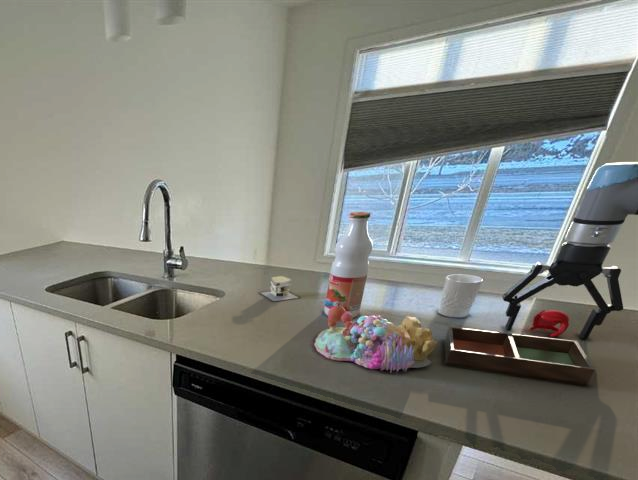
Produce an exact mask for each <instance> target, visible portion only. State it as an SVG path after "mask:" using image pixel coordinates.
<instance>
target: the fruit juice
mask: <svg viewBox="0 0 638 480" xmlns="http://www.w3.org/2000/svg"><path fill="white" fill-rule="evenodd" d="M370 219H371V212H369V211H353V212H350V213H349V215H348V220H349V223H348V225H347V228H346V230H345V231H344V234H343V235H342V236H341V237H340V238H339V239H338V240H337V241H336V243H335V246H334V256H335V258H334V260H333V261H332V263H331V268H330V272H329V279H328V284H327V289H326V296H325V302H324V308H323V312H324V314H325V315H326V316H328V312H329V310H330V309H331V308H332V307H334V306H337V305H338V306H342V307H343V308H344V309H345V311H346V313H351V314H352V316H353V319H354V318H356V317H358V315H359V314H360V311H361V306H362V302H363V297H364V292H365V287H366V285H367V283H366V282H367V279H368V275H369V268H370V261H369V257H370V255H371V253H372V252H373V247H374V243H373V240H372V238H371V237H370V235H369V231H368V222H369V220H370Z"/></svg>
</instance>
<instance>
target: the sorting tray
mask: <svg viewBox="0 0 638 480" xmlns="http://www.w3.org/2000/svg"><path fill="white" fill-rule="evenodd" d="M444 357H445V358H444V364H445V366H448V367H455V368H462V369H469V370H474V371H475V370H476V371H481V372H487V373H495V374H501V375H509V376H513V377H514V376H515V377H521V378H527V379H534V380H541V381H546V382H553V383H560V384H567V385H573V386H580V387H587V386H588V383H589V382H590V380H591V378H592V376H593V374H594V372H595V371H596V368H595V367H594V365H593V364H592V362H591V360H590V359H589V358H588V356H587V354H586V352H585V351H584V349H583V348H582V346H581V345H580V343H579V342H578V340H571V339H563V338H554V337H544V336H537V335H529V334H528V335H527V334H519V333H510V332H500V331H493V330H483V329H475V328H465V327H457V326H448V329H447V333H446V335H445V338H444Z"/></svg>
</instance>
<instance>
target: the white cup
mask: <svg viewBox="0 0 638 480" xmlns="http://www.w3.org/2000/svg"><path fill="white" fill-rule="evenodd" d="M483 282H484V279H483V277H481V276H477V275H471V274H465V273H464V274H461V273H458V274H457V273H456V274H449V275H446V277H445V280H444V285H443V289H442V292H441V297H440V301H439V307H438V311H437V312H438V314H440V315H442V316H445V317H450V318H457V319H458V318H465V317H468V316H469V313H470V310H471V308H472V307H473V304H474V303H475V301H476V298H477V296H478V294H479V291H480V289H481V287H482V284H483Z"/></svg>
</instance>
